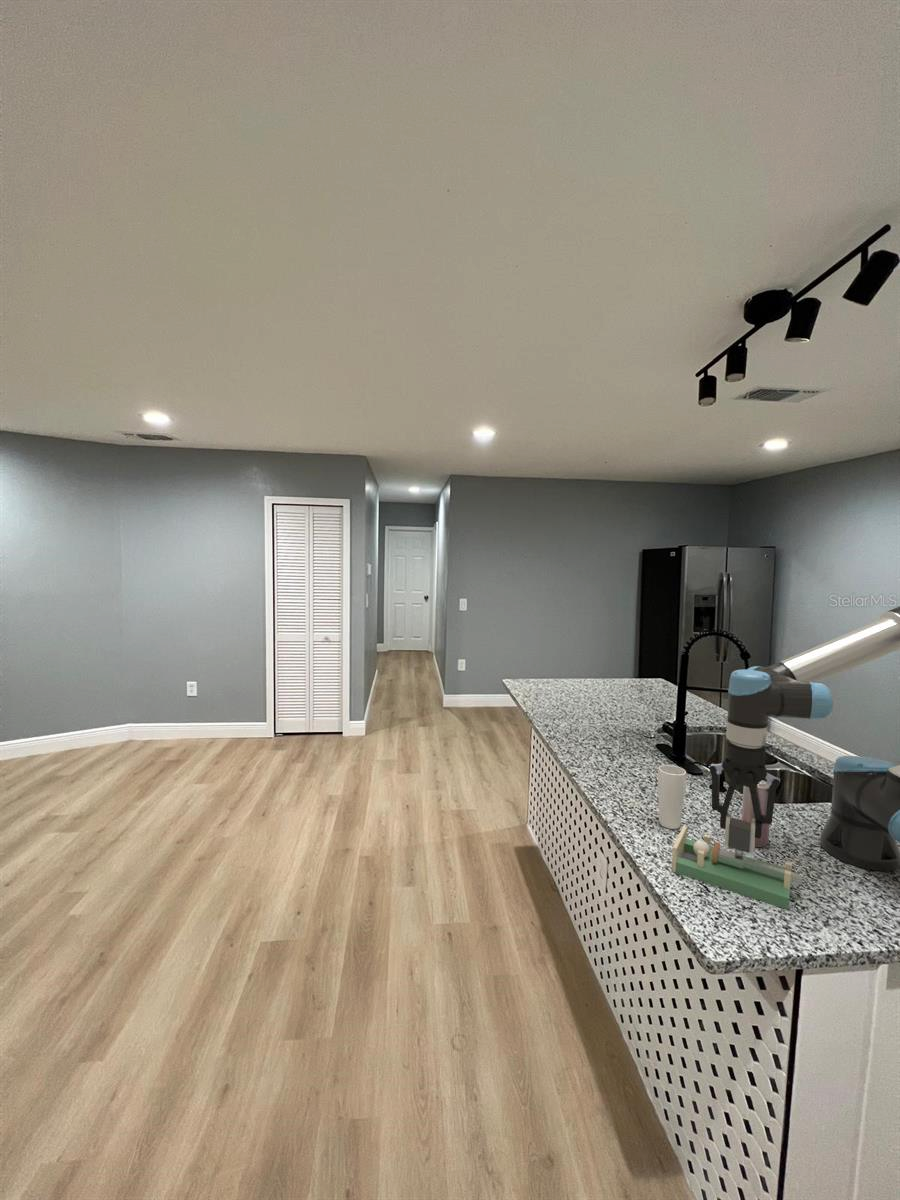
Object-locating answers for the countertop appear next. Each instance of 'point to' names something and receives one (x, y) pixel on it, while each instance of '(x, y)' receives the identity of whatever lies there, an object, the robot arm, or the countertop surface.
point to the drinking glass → (671, 795)
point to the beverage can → (749, 813)
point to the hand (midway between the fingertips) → (739, 846)
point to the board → (730, 873)
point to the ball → (701, 847)
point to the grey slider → (741, 843)
